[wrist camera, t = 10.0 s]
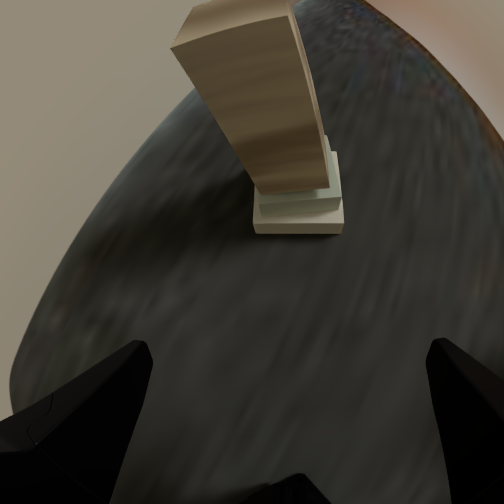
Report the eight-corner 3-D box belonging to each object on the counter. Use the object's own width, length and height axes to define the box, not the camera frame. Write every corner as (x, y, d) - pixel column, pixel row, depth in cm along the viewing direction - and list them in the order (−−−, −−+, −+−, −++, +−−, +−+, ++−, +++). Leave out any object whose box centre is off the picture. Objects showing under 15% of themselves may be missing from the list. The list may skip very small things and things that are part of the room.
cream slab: (340, 236, 24) (344, 223, 22) (256, 236, 25) (252, 223, 23) (334, 168, 27) (336, 151, 24) (260, 168, 28) (256, 152, 25)
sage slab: (338, 209, 22) (341, 196, 20) (261, 217, 23) (258, 204, 21) (325, 150, 24) (326, 135, 23) (257, 156, 25) (254, 142, 23)
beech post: (329, 188, 20) (287, 15, 8) (260, 195, 21) (170, 48, 10) (324, 135, 22) (283, -18, 10) (263, 143, 23) (193, 7, 12)
